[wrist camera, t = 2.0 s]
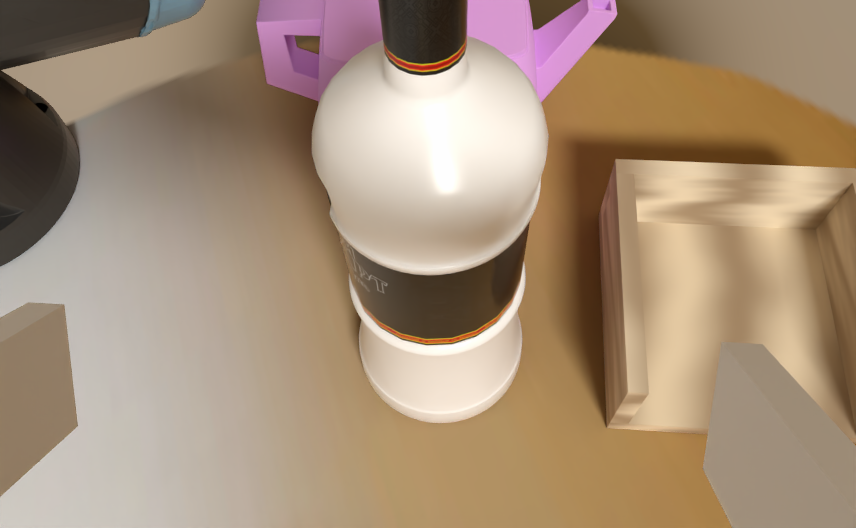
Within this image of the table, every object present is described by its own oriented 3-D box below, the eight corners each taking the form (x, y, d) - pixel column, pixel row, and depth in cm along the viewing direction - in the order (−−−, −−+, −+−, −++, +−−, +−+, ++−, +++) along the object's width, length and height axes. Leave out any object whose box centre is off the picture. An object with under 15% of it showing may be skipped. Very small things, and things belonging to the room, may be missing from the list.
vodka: (501, 445, 42) (575, 47, 15) (342, 406, 43) (159, -20, 17) (533, 299, 46) (634, -211, 19) (387, 267, 47) (298, -247, 21)
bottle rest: (606, 427, 42) (628, 392, 37) (598, 215, 48) (615, 158, 43) (867, 444, 41) (928, 410, 36) (822, 225, 48) (868, 168, 42)
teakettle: (262, 118, 54) (213, -24, 43) (428, -7, 59) (421, -161, 48) (435, 260, 47) (429, 137, 37) (601, 106, 53) (639, -41, 42)
